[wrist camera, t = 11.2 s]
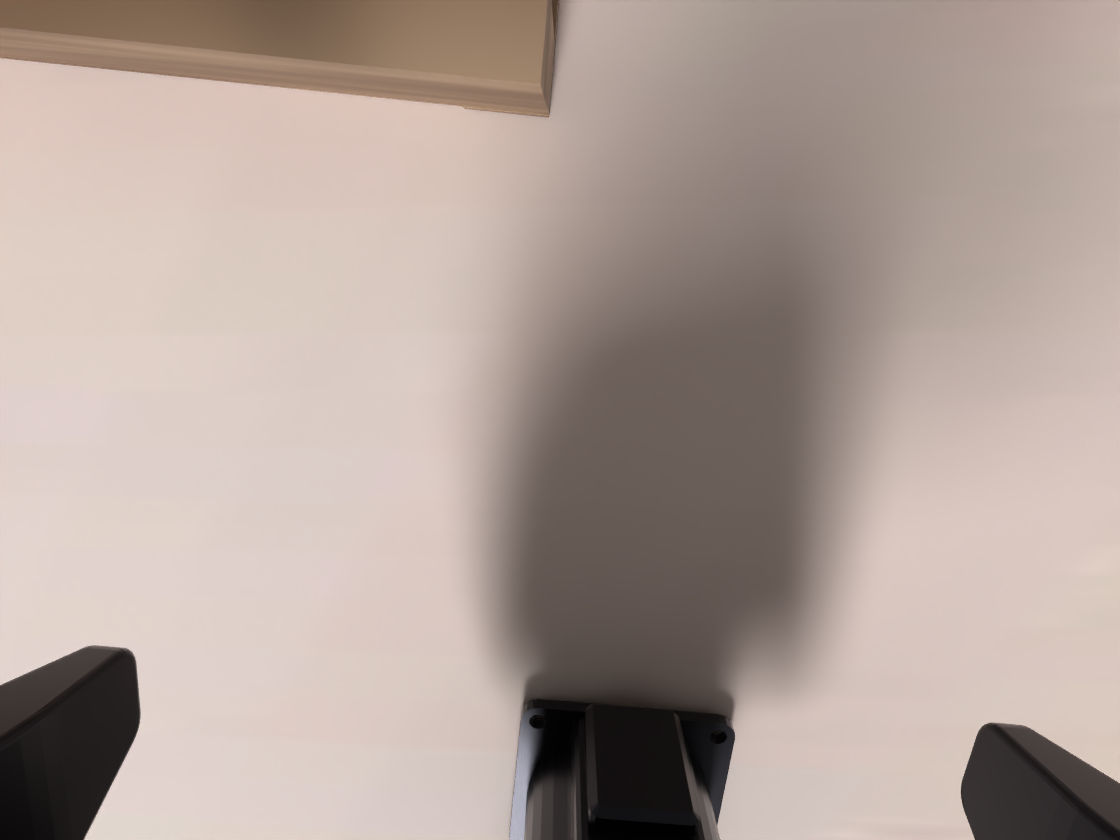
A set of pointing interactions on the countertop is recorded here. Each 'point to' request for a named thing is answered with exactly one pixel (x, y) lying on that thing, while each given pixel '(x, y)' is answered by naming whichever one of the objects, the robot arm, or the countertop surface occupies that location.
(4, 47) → the screen
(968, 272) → the countertop surface
